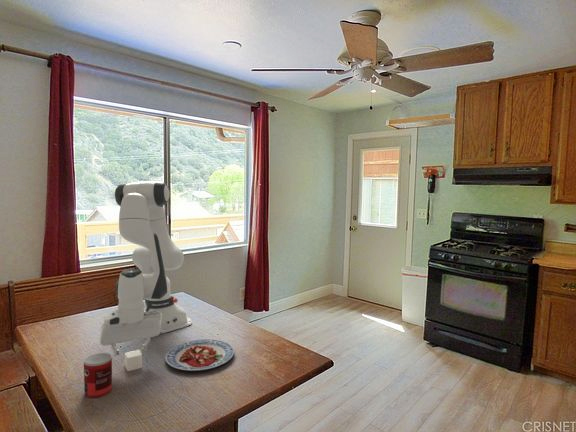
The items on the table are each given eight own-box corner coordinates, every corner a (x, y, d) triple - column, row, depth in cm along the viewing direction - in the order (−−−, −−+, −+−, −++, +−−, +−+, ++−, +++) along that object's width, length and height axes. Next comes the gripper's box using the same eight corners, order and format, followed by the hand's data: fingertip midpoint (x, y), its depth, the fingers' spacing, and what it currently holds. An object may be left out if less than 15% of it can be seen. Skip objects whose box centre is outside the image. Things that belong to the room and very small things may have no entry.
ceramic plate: (150, 367, 128) (150, 359, 127) (193, 340, 152) (193, 333, 151) (209, 382, 118) (209, 373, 118) (245, 350, 142) (245, 343, 142)
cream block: (139, 362, 131) (139, 349, 130) (142, 367, 127) (142, 354, 126) (124, 365, 128) (124, 352, 127) (127, 371, 124) (127, 358, 123)
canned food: (91, 385, 114) (90, 353, 114) (116, 384, 115) (115, 352, 114) (79, 398, 107) (78, 364, 106) (106, 398, 108) (105, 363, 107)
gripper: (158, 307, 134) (158, 342, 135) (98, 316, 122) (98, 354, 123) (162, 312, 129) (162, 348, 129) (100, 322, 117) (100, 361, 118)
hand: (130, 351), depth 126 cm, fingers open, 8 cm apart
